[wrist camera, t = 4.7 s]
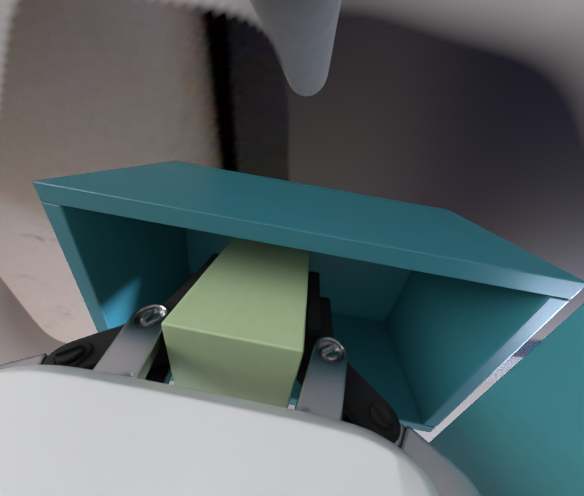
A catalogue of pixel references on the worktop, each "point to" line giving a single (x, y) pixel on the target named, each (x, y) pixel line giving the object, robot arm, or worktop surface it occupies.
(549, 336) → the lunchbox lid
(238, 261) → the carton
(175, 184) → the box
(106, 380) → the robot arm
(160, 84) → the worktop surface
